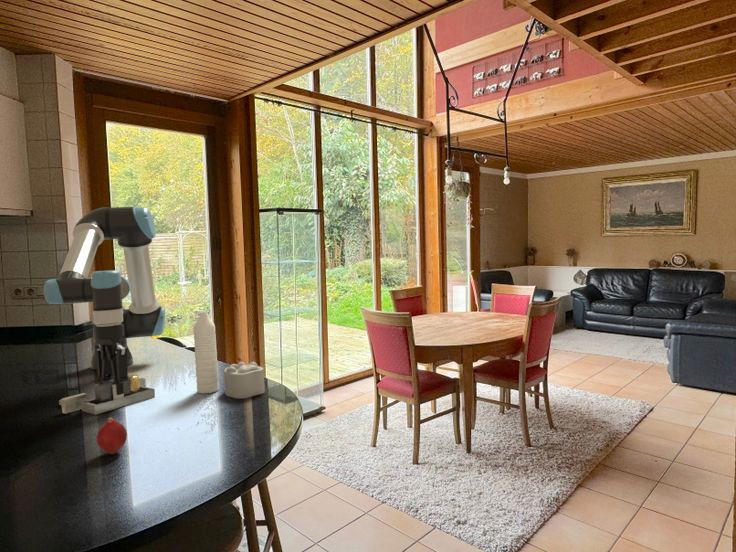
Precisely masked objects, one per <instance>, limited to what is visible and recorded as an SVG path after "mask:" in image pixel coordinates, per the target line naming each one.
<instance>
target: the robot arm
mask: <svg viewBox="0 0 736 552" xmlns="http://www.w3.org/2000/svg"><path fill="white" fill-rule="evenodd" d="M72 237H73V239H72V243H71V245H70V247H69V250H68V252H67V255H66V257H65V260H64V263H63V265H62V267H61V270H60V273H59V275H58V277H57V278H51V279H48V280H46V281H45V282H44V286H43V296H44V298H45V299H44V300H45V301H46V302H47V303H48V304H50V305H68V304H69V305H71V304H82V303H83V304H84V303H92V316H91V318H92V321H91V325H92V337H93V352H92V355H91V359H90V362H89V367H90V369H91V370H93V371H97V378H98V379H100V380H101V382H102V383H103V382H107V381H111V380H114V383H112V388H113V400H114V399H118V398H121V397H124V391H123V382H125V381H127V380H128V375H129V373H128V366H131V365H132V364H134V360H133V359H134V358H133V355H132V353H131V351H130V349H129V345H128V342H127V341H128V340H127V339H134V338H145V337H146V338H147V337H151V338H152V337H156V336H157V337H158V336H161V335H163V333H164V330H165V324H166V323H165V322H166V307H165V306H161V302H160V301H158V300H157V299H156V294H155V285H154V279H153V278H154V277H153V271H152V265H151V264H152V263H151V256H150V249H149V245H151V244H152V243H153V239H155V237H156V225H155V221H154V218H153V215H152V212H151V211H150V209H149V208H147V207H145V206H144V207H142V206H122V207H119V206H117V207H116V206H114V207H107V206H106V207H99V208H96V209H93V210H92V211H89V212H88V213H86V214H85V215H84V216H82V217H81V218H80V219H79V220H78V221H77V222H76V224H75V225H74V228H73V230H72ZM106 240H117V245H118V246H119V247H120V248H122V249H123V255H124V260H125V267H126V273H127V278H125V277H124V276H121V272H120V270H116V269H113V270H96V271H93V272H91V274H90V276H91V277H88V276H89V273H90V270H91V268H92V265H93V262H94V259H95V256H96V253H97V250H98V247H99V246H100V245H101V244H102V243H103V241H106ZM129 293H130V299H131V303H130V304H129V305H128V308H127V309H126V307H125V306H124V305H123V299H125V298H127V296H129Z"/></svg>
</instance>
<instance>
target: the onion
mask: <svg viewBox="0 0 736 552" xmlns="http://www.w3.org/2000/svg"><path fill="white" fill-rule="evenodd" d="M127 438H128V433H127V429H126V427H125V426H124V425H123V424H122V423H120V422H119V421H117V420H115V419H114V418H112V417H108V418H107V420H106V423H104V424H103V425H102V426H101V427H100V429H99V430H98V432H97V435H96V444H97V446H98V447H99V448H100V449H101V451H102V450H103V451H104V452H107V453H108V454H110V455H115V454H116V453H117V452H119V450H121V449H122V448H123V446H124V445H125V444H126V441H127Z"/></svg>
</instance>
